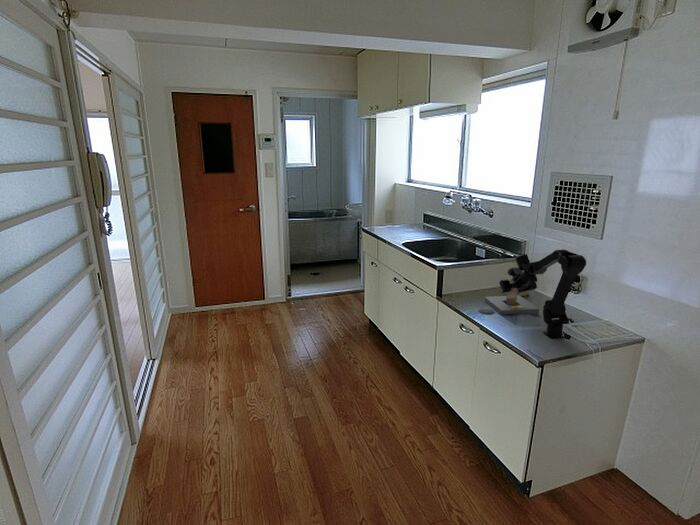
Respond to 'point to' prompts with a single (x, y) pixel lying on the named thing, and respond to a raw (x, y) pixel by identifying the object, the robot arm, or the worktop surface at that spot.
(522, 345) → the worktop surface
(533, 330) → the worktop surface
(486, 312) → the pad
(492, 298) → the hole plate
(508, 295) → the beech peg
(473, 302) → the worktop surface
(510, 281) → the ceramic model
